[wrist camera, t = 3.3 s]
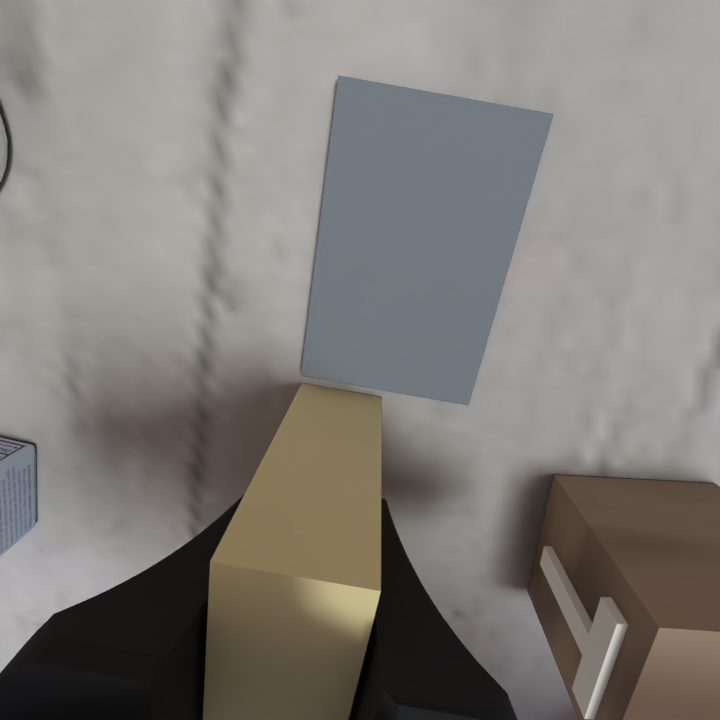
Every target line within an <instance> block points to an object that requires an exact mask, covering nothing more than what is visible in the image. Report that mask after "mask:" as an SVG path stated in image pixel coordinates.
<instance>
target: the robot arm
mask: <svg viewBox="0 0 720 720" xmlns="http://www.w3.org/2000/svg"><path fill="white" fill-rule="evenodd" d="M243 496H244V495H243ZM243 496H242V497H241V498H240V499H239V500H238V501H237V502H236V503H235V504H233V505H232V506H231V507H230V508H229V509H228V510H227V511H226V512H225V513H224V514H223V515H221V516H220V517H219V518H218V519H217V520H216V521H214V522H213V523H212V524H211V525H209V526H208V527H207V528H206V529H205V530H203V531H202V532H201V533H200V534H198V535H197V536H196V537H194V538H193V539H192V540H191V541H189V542H188V543H186V544H185V545H184V546H182V547H181V548H179V549H178V550H176V551H175V552H174V553H172V554H171V555H169V556H167V557H166V558H164V559H163V560H161V561H160V562H158V563H156V564H155V565H153V566H152V567H150V568H148V569H147V570H145V571H143V572H141V573H140V574H138V575H136V576H134V577H132V578H130V579H129V580H127V581H125V582H123V583H121V584H119V585H117V586H115V587H113V588H111V589H109V590H107V591H105V592H103V593H101V594H99V595H97V596H95V597H92V598H90V599H88V600H86V601H83V602H81V603H79V604H76V605H74V606H72V607H69V608H67V609H65V610H62V611H60V612H58V613H55V614H53V615H52V616H51V618H50V619H49V620H48V621H47V622H46V623H45V624H44V625H43V626H42V627H41V628H39V629H38V630H37V631H36V633H35V634H34V635H33V636H32V637H31V638H30V639H29V640H28V641H27V643H26V644H25V645H24V646H23V647H22V648H21V650H20V651H19V652H18V653H17V654H16V655H15V657H14V658H13V659H12V660H11V661H10V662H9V664H8V665H7V666H6V667H5V668H4V669H3V671H2V672H1V673H0V720H203V702H204V681H205V659H206V638H207V617H208V596H209V574H210V561H211V559H212V557H213V555H214V553H215V551H216V549H217V547H218V545H219V543H220V541H221V539H222V537H223V535H224V533H225V531H226V529H227V528H228V526H229V524H230V522H231V520H232V518H233V516H234V514H235V512H236V510H237V508H238V506H239V504H240V502H241V500H242V498H243ZM349 720H517V718H516V715H515V713H514V710H513V707H512V705H511V702H510V700H509V697H508V694H507V693H506V692H505V690H504V689H503V688H502V687H501V686H500V685H499V684H498V683H497V682H496V681H495V680H494V679H493V678H492V677H491V676H490V675H489V673H488V672H487V671H486V670H485V669H484V668H483V667H482V666H481V665H480V664H479V663H478V662H477V661H476V659H475V658H474V657H473V656H472V655H471V653H470V652H469V651H468V650H467V649H466V647H465V646H464V645H463V644H462V642H461V641H460V640H459V638H458V637H457V636H456V634H455V633H454V632H453V630H452V629H451V628H450V626H449V625H448V624H447V622H446V621H445V620H444V618H443V617H442V615H441V614H440V612H439V611H438V609H437V608H436V606H435V605H434V603H433V602H432V600H431V599H430V597H429V595H428V594H427V592H426V590H425V589H424V587H423V585H422V583H421V582H420V580H419V578H418V576H417V574H416V572H415V570H414V569H413V567H412V565H411V563H410V561H409V559H408V556H407V554H406V552H405V550H404V548H403V545H402V543H401V541H400V538H399V536H398V534H397V531H396V528H395V526H394V523H393V520H392V517H391V514H390V511H389V508H388V504H387V501H386V500H385V499H383V498H381V593H380V597H379V601H378V605H377V609H376V613H375V617H374V620H373V624H372V628H371V632H370V636H369V640H368V644H367V648H366V652H365V656H364V660H363V664H362V668H361V672H360V676H359V680H358V684H357V688H356V692H355V696H354V700H353V704H352V708H351V712H350V716H349Z"/></svg>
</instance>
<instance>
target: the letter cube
mask: <svg viewBox="0 0 720 720" xmlns="http://www.w3.org/2000/svg"><path fill="white" fill-rule="evenodd" d="M528 593H529V596H530V598H531V601H532V603H533V606H534V608H535V611H536V613H537V616H538V618H539V621H540V623H541V626H542V628H543V631H544V633H545V636H546V638H547V641H548V643H549V646H550V648H551V651H552V653H553V656H554V658H555V661H556V663H557V666H558V669H559V671H560V674H561V676H562V679H563V681H564V684H565V686H566V689H567V691H568V694H569V696H570V699H571V701H572V704H573V706H574V709H575V711H576V714H577V716H578V719H579V720H720V487H719V486H718V485H716V484H714V483H696V482H678V481H660V480H642V479H624V478H606V477H588V476H570V475H554V477H553V481H552V485H551V490H550V494H549V498H548V503H547V507H546V512H545V516H544V520H543V525H542V529H541V533H540V538H539V542H538V546H537V551H536V555H535V560H534V564H533V568H532V573H531V577H530V581H529V586H528Z"/></svg>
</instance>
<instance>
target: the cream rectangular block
mask: <svg viewBox="0 0 720 720" xmlns="http://www.w3.org/2000/svg"><path fill="white" fill-rule="evenodd" d="M381 462H382V397H378V396H372V395H367V394H361V393H355V392H350V391H344V390H338V389H333V388H327V387H321V386H316V385H310V384H304V383H302V384H301V386H300V388H299V389H298V391H297V393H296V395H295V397H294V399H293V401H292V403H291V405H290V407H289V409H288V411H287V413H286V415H285V417H284V419H283V421H282V423H281V424H280V426H279V428H278V430H277V432H276V434H275V436H274V438H273V440H272V442H271V444H270V446H269V448H268V450H267V452H266V454H265V456H264V458H263V459H262V461H261V463H260V465H259V467H258V469H257V471H256V473H255V475H254V477H253V479H252V481H251V483H250V485H249V487H248V489H247V491H246V493H245V494H244V496H243V498H242V500H241V502H240V504H239V506H238V508H237V510H236V512H235V514H234V516H233V518H232V520H231V522H230V524H229V526H228V528H227V529H226V531H225V533H224V535H223V537H222V539H221V541H220V543H219V545H218V547H217V549H216V551H215V553H214V555H213V557H212V559H211V561H210V574H209V596H208V617H207V638H206V659H205V681H204V702H203V720H349V716H350V712H351V708H352V704H353V700H354V696H355V692H356V688H357V684H358V680H359V676H360V672H361V668H362V664H363V660H364V656H365V652H366V648H367V644H368V640H369V636H370V632H371V628H372V624H373V620H374V617H375V613H376V609H377V605H378V601H379V597H380V593H381Z"/></svg>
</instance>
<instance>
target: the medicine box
mask: <svg viewBox="0 0 720 720" xmlns="http://www.w3.org/2000/svg"><path fill="white" fill-rule="evenodd" d="M36 503H37V486H36V453H35V447H34V445H31V444H27V443H22V442H18V441H14V440H9V439H5V438H0V556H1V555H2V554H4V553H5V552H6V551H7V550H8V549H10V548H11V547H12V546H13V545H14V544H15V543H16V542H18V541H19V540H20V539H21V538H22V537H23V536H24V535H25V534H27V533H28V532H29V531H30V530H31V529H32V528H33V527H34V525H35V520H36V518H37V512H36Z"/></svg>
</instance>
